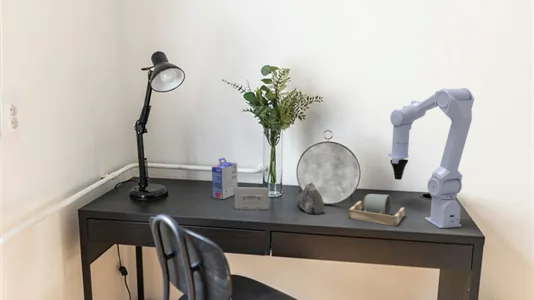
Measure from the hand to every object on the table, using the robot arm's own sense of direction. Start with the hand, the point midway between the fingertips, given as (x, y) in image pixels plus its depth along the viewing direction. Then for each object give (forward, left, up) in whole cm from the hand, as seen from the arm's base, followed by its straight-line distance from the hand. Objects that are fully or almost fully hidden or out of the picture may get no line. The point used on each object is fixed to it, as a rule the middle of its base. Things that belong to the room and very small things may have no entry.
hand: (398, 179), depth 183 cm
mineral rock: (0, +33, -10) cm, 35 cm away
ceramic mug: (-12, +14, -10) cm, 21 cm away
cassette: (+4, +54, -10) cm, 55 cm away
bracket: (-13, +14, -9) cm, 21 cm away
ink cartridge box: (+22, +61, -10) cm, 66 cm away
